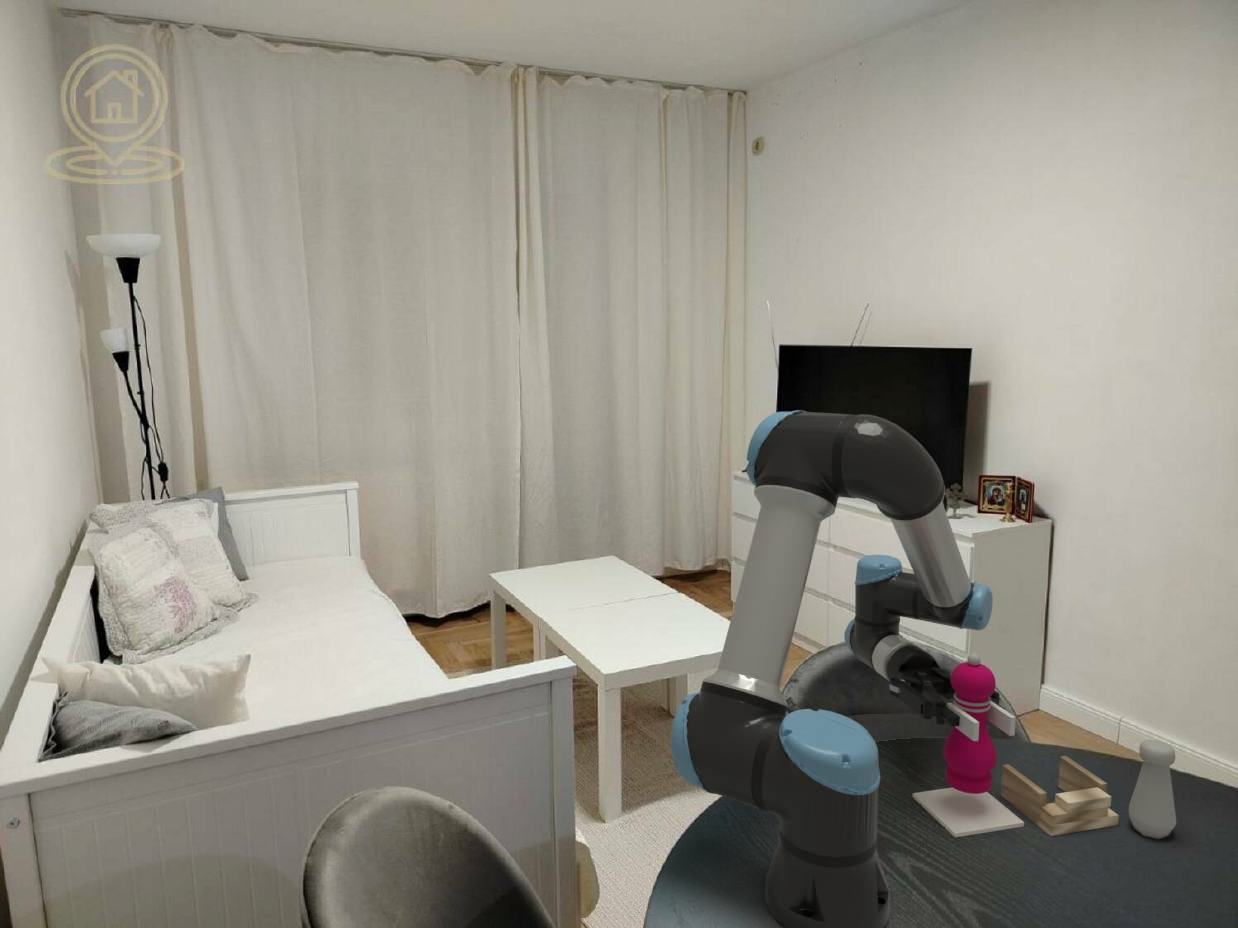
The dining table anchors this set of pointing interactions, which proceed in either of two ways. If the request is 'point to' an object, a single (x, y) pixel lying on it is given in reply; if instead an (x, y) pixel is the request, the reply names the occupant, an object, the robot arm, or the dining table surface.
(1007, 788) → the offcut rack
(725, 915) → the dining table surface
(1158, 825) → the salt shaker
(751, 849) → the dining table surface
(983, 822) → the mat
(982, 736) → the pepper mill
